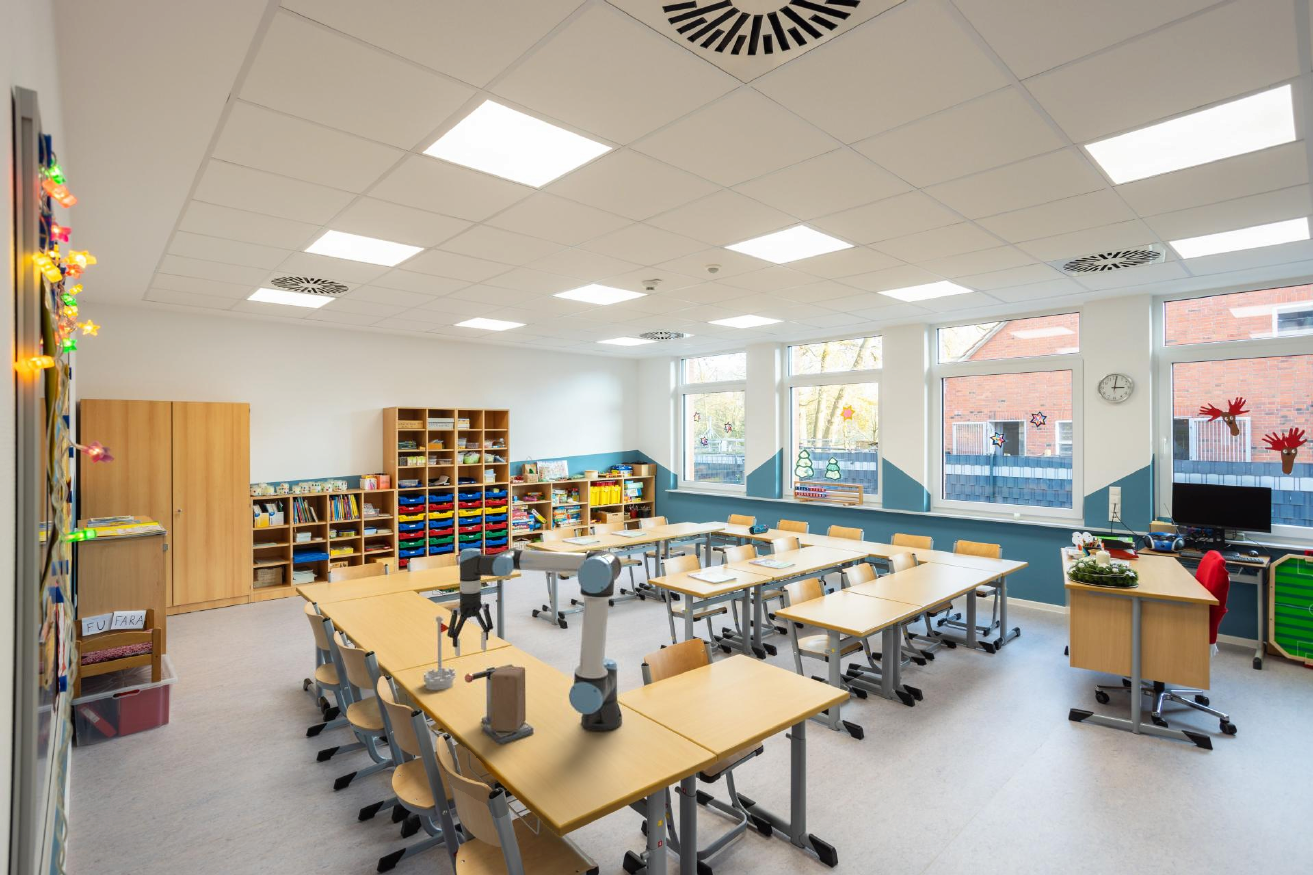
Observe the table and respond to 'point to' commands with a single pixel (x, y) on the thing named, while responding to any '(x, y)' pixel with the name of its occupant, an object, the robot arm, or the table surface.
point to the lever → (479, 675)
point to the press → (502, 736)
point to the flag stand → (439, 666)
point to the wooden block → (507, 698)
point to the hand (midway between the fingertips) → (470, 652)
